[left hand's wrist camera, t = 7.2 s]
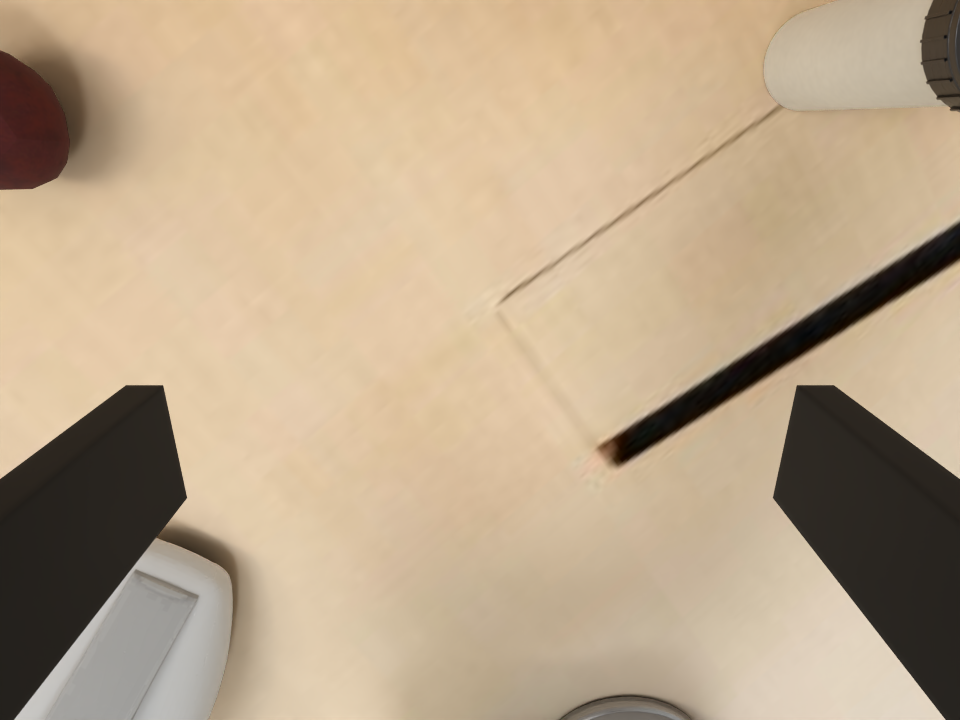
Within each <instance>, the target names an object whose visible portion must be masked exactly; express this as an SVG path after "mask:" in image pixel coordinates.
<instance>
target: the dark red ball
mask: <svg viewBox="0 0 960 720" xmlns="http://www.w3.org/2000/svg"><path fill="white" fill-rule="evenodd" d="M69 145H70V140H69V135H68V129H67V124H66V119H65V114H64V112H63V110H62V108H61V106H60V104H59V102H58V100H57V98H56V96H55V94H54V92H53V90H52V88H51V87H50V86H49V85H48V84H47V83H46V82H45V81H44V80H43V79H42V78H41V77H40V76H39V75H38V74H37V73H36V72H35V71H34V70H32V69H31V68H29V67H28V66H26V65H25V64H23V63H22V62H20V61H19V60H17V59H16V58H14V57H13V56H11V55H10V54H8V53H5V52H3V51H0V190H6V189H33V188H36V187H38V186H40V185H42V184H45V183H47V182H49V181H51V180H53V179H56V178H57V177H58V176H59V174H60V173H61V171H62V170H63V168H64V166H65V165H66V163H67V159H68V152H69Z"/></svg>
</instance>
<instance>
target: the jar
mask: <svg viewBox="0 0 960 720" xmlns="http://www.w3.org/2000/svg"><path fill="white" fill-rule="evenodd" d="M932 1H933V0H836V1H833V2H830V3H827V4H825V5H822V6H819V7H816V8H813V9H810V10H807V11H804V12H801V13H799V14H797V15H795V16H794V17H792V18H791V19H789V20H788V21H787V22H786V23H785V24H784V25H783V26H782V27H781V28H780V29H779V30H778V31H777V33H776V34H775V35H774V37H773V39H772V40H771V42H770V44H769V46H768V49H767V52H766V55H765V60H764V80H765V84H766V87H767V89H768V92H769V93H770V95H771V96H772V98H773V99H774V100H775V101H776V102H777V103H778V104H780V105H781V106H783V107H785V108H787V109H790V110H794V111H822V110H852V109H883V108H913V107H943V106H947V105H946V104H944V103H943V102H942V101H941V100H937V99H936V97H937V96H936V94H935V93H934V92H933V90H932V89H931V87H930V85H929V84H926V81H927V79H926V76H925V73H924V70H923V65H921V62H922V57H921V43H920V40H922V33H923V28H924V23H925V19H924V18H925V16H927V14H928V11H929V8H930V6H931V4H932Z"/></svg>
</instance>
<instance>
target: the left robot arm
mask: <svg viewBox="0 0 960 720" xmlns="http://www.w3.org/2000/svg"><path fill="white" fill-rule="evenodd" d="M186 499H187V496H186V491H185V486H184V481H183V477H182V472H181V467H180V463H179V458H178V453H177V449H176V444H175V439H174V434H173V430H172V425H171V420H170V416H169V411H168V406H167V402H166V397H165V392H164V387H163V385H126V386H125V387H123V388H122V389H121V390H119V391H118V392H117V393H115V394H114V395H113V396H111V397H110V398H109V399H107V400H106V401H105V402H103V403H102V404H100V405H99V406H98V407H96V408H95V409H94V410H92V411H91V412H90V413H88V414H87V415H86V416H84V417H83V418H82V419H80V420H79V421H78V422H76V423H75V424H74V425H72V426H71V427H70V428H68V429H67V430H66V431H64V432H63V433H62V434H60V435H59V436H58V437H56V438H55V439H53V440H52V441H51V442H49V443H48V444H47V445H45V446H44V447H43V448H41V449H40V450H39V451H37V452H36V453H35V454H33V455H32V456H31V457H29V458H28V459H27V460H25V461H24V462H23V463H21V464H20V465H19V466H17V467H16V468H15V469H13V470H12V471H11V472H9V473H8V474H7V475H5V476H4V477H2V478H1V479H0V720H14V719H15V718H16V717H17V716H18V714H19V713H20V712H21V710H22V709H23V708H24V707H25V705H26V704H27V703H28V701H29V700H30V699H31V698H32V696H33V695H34V694H35V692H36V691H37V690H38V689H39V687H40V686H41V685H42V683H43V682H44V681H45V680H46V678H47V677H48V676H49V674H50V673H51V672H52V671H53V669H54V668H55V667H56V665H57V664H58V663H59V662H60V660H61V659H62V658H63V656H64V655H65V654H66V653H67V651H68V650H69V649H70V647H71V646H72V645H73V644H74V642H75V641H76V640H77V639H78V637H79V636H80V635H81V633H82V632H83V631H84V630H85V628H86V627H87V626H88V624H89V623H90V622H91V621H92V619H93V618H94V617H95V615H96V614H97V613H98V612H99V610H100V609H101V608H102V606H103V605H104V604H105V603H106V601H107V600H108V599H109V597H110V596H111V595H112V594H113V592H114V591H115V590H116V588H117V587H118V586H119V585H120V583H121V582H122V581H123V579H124V578H125V577H126V576H127V574H128V573H129V572H130V570H131V569H132V568H133V567H134V565H135V564H136V563H137V561H138V560H139V559H140V558H141V556H142V555H143V554H144V552H145V551H146V550H147V549H148V547H149V546H150V545H151V544H152V542H153V541H154V540H155V538H156V537H157V536H158V535H159V533H160V532H161V531H162V529H163V528H164V527H165V526H166V524H167V523H168V522H169V520H170V519H171V518H172V517H173V515H174V514H175V513H176V511H177V510H178V509H179V508H180V506H181V505H182V504H183V502H184V501H185V500H186ZM773 499H774V500H775V501H776V502H777V504H778V505H779V506H780V508H781V509H782V510H783V511H784V513H785V514H786V515H787V517H788V518H789V519H790V520H791V522H792V523H793V524H794V526H795V527H796V528H797V529H798V531H799V532H800V533H801V535H802V536H803V537H804V538H805V540H806V541H807V542H808V544H809V545H810V546H811V547H812V549H813V550H814V551H815V552H816V554H817V555H818V556H819V558H820V559H821V560H822V561H823V563H824V564H825V565H826V567H827V568H828V569H829V570H830V572H831V573H832V574H833V576H834V577H835V578H836V579H837V581H838V582H839V583H840V585H841V586H842V587H843V588H844V590H845V591H846V592H847V594H848V595H849V596H850V597H851V599H852V600H853V601H854V603H855V604H856V605H857V606H858V608H859V609H860V610H861V612H862V613H863V614H864V615H865V617H866V618H867V619H868V621H869V622H870V623H871V624H872V626H873V627H874V628H875V630H876V631H877V632H878V633H879V635H880V636H881V637H882V639H883V640H884V641H885V642H886V644H887V645H888V646H889V648H890V649H891V650H892V651H893V653H894V654H895V655H896V656H897V658H898V659H899V660H900V662H901V663H902V664H903V665H904V667H905V668H906V669H907V671H908V672H909V673H910V674H911V676H912V677H913V678H914V680H915V681H916V682H917V683H918V685H919V686H920V687H921V689H922V690H923V691H924V692H925V694H926V695H927V696H928V698H929V699H930V700H931V701H932V703H933V704H934V705H935V707H936V708H937V709H938V710H939V712H940V713H941V714H942V716H943V717H944V718H945V719H946V720H960V479H959V478H958V477H956V476H955V475H953V474H952V473H951V472H949V471H948V470H947V469H945V468H944V467H943V466H941V465H940V464H939V463H937V462H936V461H935V460H933V459H932V458H931V457H929V456H928V455H927V454H925V453H924V452H923V451H921V450H920V449H919V448H917V447H916V446H915V445H913V444H912V443H911V442H909V441H908V440H907V439H905V438H904V437H902V436H901V435H900V434H898V433H897V432H896V431H894V430H893V429H892V428H890V427H889V426H888V425H886V424H885V423H884V422H882V421H881V420H880V419H878V418H877V417H876V416H874V415H873V414H872V413H870V412H869V411H868V410H866V409H865V408H864V407H862V406H861V405H860V404H858V403H857V402H855V401H854V400H853V399H851V398H850V397H849V396H847V395H846V394H845V393H843V392H842V391H841V390H839V389H838V388H837V387H835V386H834V385H797V387H796V392H795V397H794V402H793V406H792V411H791V416H790V420H789V425H788V430H787V434H786V439H785V444H784V449H783V453H782V458H781V463H780V467H779V472H778V477H777V481H776V486H775V491H774V496H773ZM561 720H691V719H690V718H689V717H688V716H687V715H686V714H684V713H683V712H682V711H680V710H679V709H677V708H675V707H673V706H671V705H669V704H667V703H664V702H661V701H657V700H654V699H649V698H642V697H616V698H608V699H603V700H599V701H595V702H592V703H589V704H587V705H584V706H582V707H580V708H578V709H576V710H574V711H572V712H570V713H569V714H567V715H566V716H564V717H563V718H562V719H561Z"/></svg>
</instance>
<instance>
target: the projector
mask: <svg viewBox="0 0 960 720" xmlns="http://www.w3.org/2000/svg"><path fill="white" fill-rule="evenodd" d="M232 614H233V595H232V584H231V580H230V576H229V574H228V573H227V572H226V570H225V569H223V568H222V567H221V566H219V565H218V564H216V563H213V562H211V561H209V560H208V559H206V558H204V557H202V556H200V555H198V554H196V553H194V552H191V551H189V550H187V549H184V548H182V547H180V546H177V545H175V544H172V543H169V542H166V541H163V540H160V539H158V538H155V540H154V541H153V542H152V544H151V545H150V546H149V547H148V549H147V550H146V551H145V552H144V554H143V555H142V556H141V558H140V559H139V560H138V561H137V563H136V564H135V565H134V567H133V568H132V569H131V570H130V572H129V573H128V574H127V576H126V577H125V578H124V579H123V581H122V582H121V583H120V585H119V586H118V587H117V588H116V590H115V591H114V592H113V594H112V595H111V596H110V597H109V599H108V600H107V601H106V603H105V604H104V605H103V606H102V608H101V609H100V610H99V612H98V613H97V614H96V615H95V617H94V618H93V619H92V621H91V622H90V623H89V624H88V626H87V627H86V628H85V630H84V631H83V632H82V633H81V635H80V636H79V637H78V639H77V640H76V641H75V642H74V644H73V645H72V646H71V647H70V649H69V650H68V651H67V653H66V654H65V655H64V656H63V658H62V659H61V660H60V662H59V663H58V664H57V665H56V667H55V668H54V669H53V671H52V672H51V673H50V674H49V676H48V677H47V678H46V680H45V681H44V682H43V683H42V685H41V686H40V687H39V689H38V690H37V691H36V692H35V694H34V695H33V696H32V698H31V699H30V700H29V701H28V703H27V704H26V705H25V707H24V708H23V709H22V710H21V712H20V713H19V714H18V716H17V717H16V718H15V719H14V720H208V719H209V717H210V714H211V712H212V709H213V706H214V703H215V701H216V698H217V695H218V692H219V689H220V685H221V682H222V678H223V675H224V671H225V667H226V662H227V657H228V651H229V645H230V637H231V628H232Z"/></svg>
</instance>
